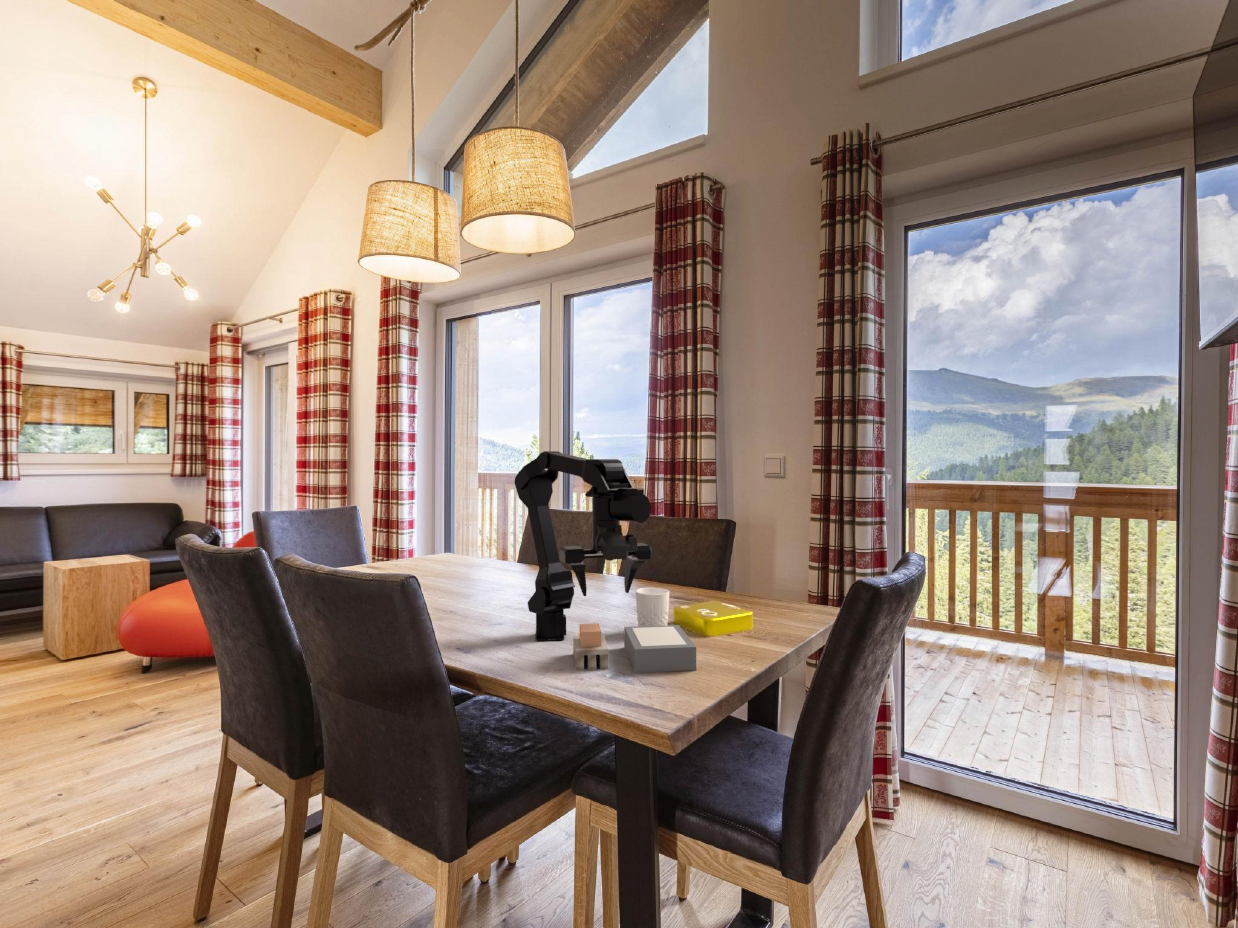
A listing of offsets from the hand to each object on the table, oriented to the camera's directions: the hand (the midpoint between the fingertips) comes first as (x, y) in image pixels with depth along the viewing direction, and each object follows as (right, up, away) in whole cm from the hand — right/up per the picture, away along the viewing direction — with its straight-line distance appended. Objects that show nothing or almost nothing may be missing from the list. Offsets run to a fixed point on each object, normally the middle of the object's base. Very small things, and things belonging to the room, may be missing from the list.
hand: (606, 594), depth 129 cm
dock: (+11, -13, -2) cm, 17 cm away
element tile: (+26, -13, +23) cm, 37 cm away
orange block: (-3, -9, -3) cm, 10 cm away
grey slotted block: (-3, -13, -3) cm, 14 cm away
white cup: (+11, -13, +16) cm, 23 cm away
